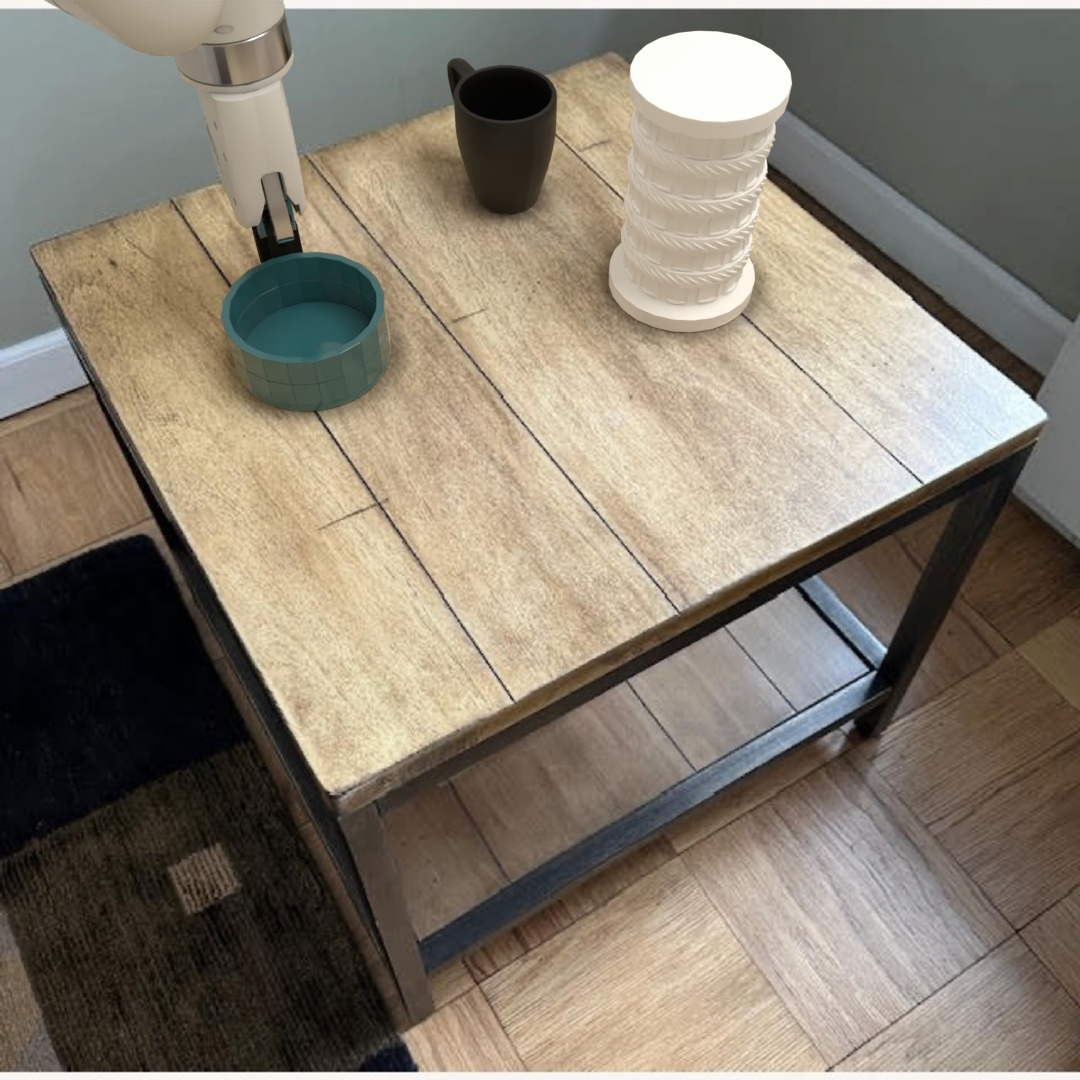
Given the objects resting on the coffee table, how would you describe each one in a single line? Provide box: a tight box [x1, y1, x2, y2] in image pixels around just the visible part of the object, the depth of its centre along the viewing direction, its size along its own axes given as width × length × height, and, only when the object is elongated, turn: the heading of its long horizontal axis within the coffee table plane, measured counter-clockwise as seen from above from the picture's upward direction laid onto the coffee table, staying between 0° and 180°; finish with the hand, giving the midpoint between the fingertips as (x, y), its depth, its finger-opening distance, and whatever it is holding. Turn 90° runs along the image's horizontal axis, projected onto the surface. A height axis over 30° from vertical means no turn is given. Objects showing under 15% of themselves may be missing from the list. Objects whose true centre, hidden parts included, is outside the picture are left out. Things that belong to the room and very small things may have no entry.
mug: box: [446, 57, 558, 215], centre depth 91 cm, size 8×12×10 cm
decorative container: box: [608, 30, 793, 333], centre depth 81 cm, size 12×12×18 cm
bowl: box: [220, 251, 392, 412], centre depth 81 cm, size 12×12×5 cm
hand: (283, 264), depth 85 cm, fingers closed
